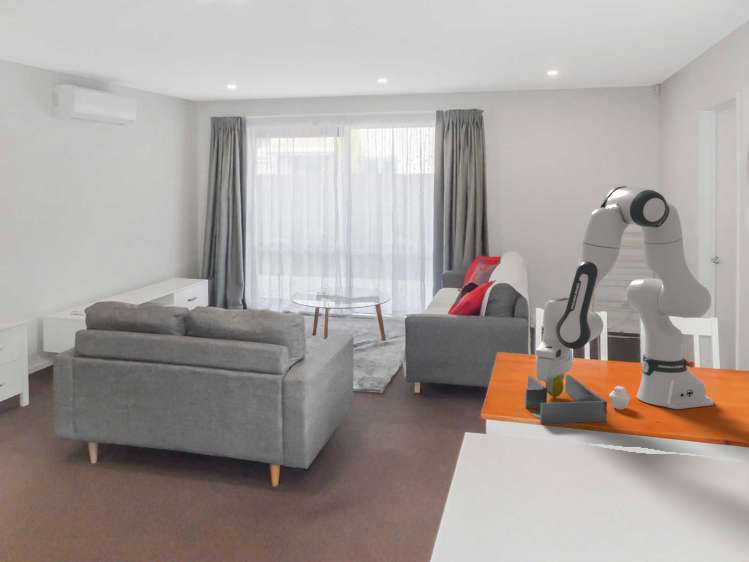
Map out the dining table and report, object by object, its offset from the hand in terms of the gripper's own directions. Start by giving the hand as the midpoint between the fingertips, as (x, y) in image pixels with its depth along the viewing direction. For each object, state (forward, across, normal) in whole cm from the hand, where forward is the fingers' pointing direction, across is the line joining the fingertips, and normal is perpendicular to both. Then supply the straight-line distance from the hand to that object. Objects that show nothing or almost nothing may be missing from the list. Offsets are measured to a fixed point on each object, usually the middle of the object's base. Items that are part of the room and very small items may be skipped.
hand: (554, 388), depth 198 cm
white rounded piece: (+3, -4, +19) cm, 20 cm away
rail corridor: (+3, +8, +4) cm, 9 cm away
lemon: (+3, 0, 0) cm, 3 cm away
